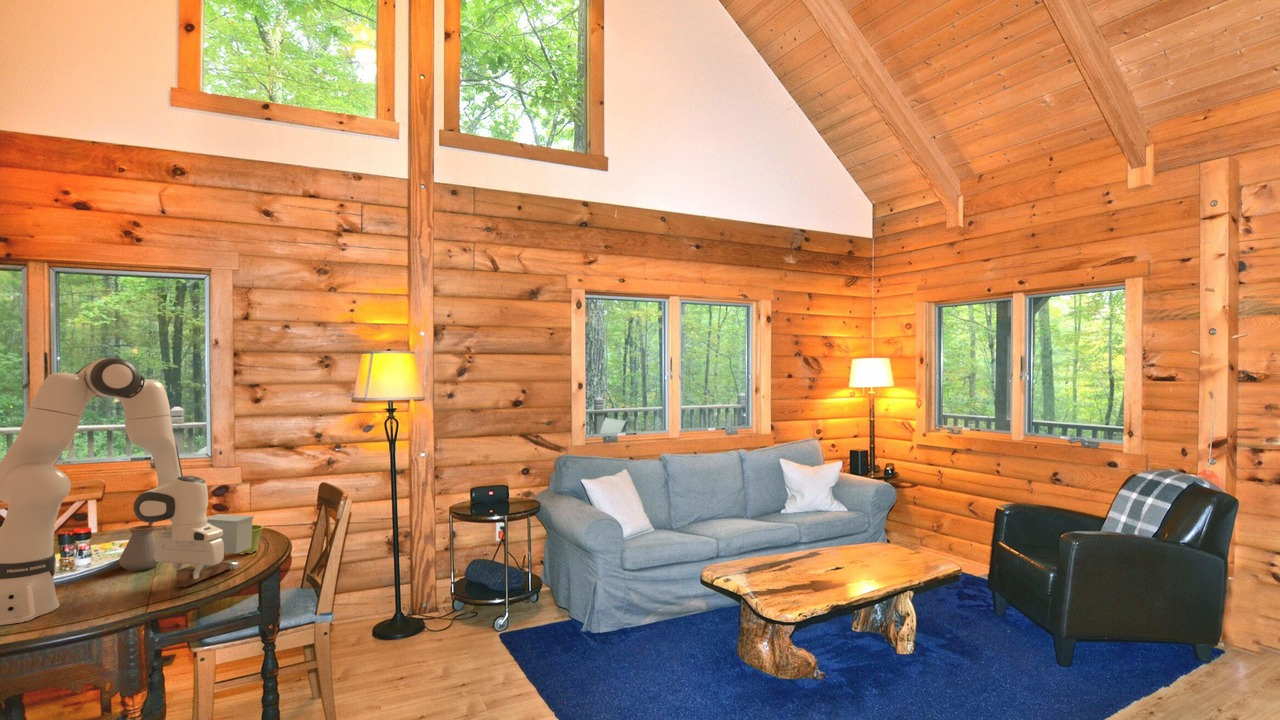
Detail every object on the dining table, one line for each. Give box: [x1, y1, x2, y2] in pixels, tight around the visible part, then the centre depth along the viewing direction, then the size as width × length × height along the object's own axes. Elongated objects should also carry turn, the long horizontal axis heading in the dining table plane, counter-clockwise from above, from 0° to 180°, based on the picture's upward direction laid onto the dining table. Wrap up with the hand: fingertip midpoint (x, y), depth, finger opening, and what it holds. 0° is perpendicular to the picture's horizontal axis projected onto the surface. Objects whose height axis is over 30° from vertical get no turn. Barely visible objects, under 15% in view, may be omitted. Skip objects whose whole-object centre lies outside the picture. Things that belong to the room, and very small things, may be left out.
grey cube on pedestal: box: [201, 513, 254, 570], centre depth 214 cm, size 7×12×17 cm, turn 84°
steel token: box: [224, 559, 240, 570], centre depth 215 cm, size 5×5×2 cm
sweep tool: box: [175, 561, 229, 588], centre depth 204 cm, size 18×3×4 cm, turn 173°
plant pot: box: [239, 524, 264, 554], centre depth 234 cm, size 9×9×9 cm
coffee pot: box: [118, 522, 160, 572], centre depth 219 cm, size 21×12×15 cm, turn 21°
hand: (188, 577), depth 198 cm, fingers closed on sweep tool, 3 cm apart
